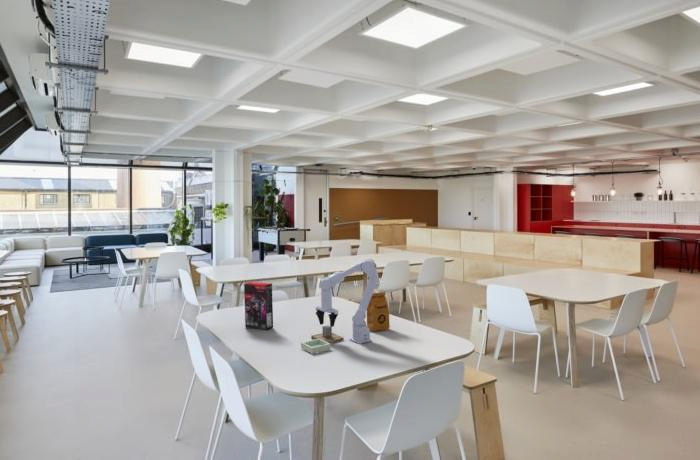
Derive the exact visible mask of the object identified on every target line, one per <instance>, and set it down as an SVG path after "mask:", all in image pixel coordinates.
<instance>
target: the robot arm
mask: <svg viewBox="0 0 700 460" xmlns="http://www.w3.org/2000/svg"><path fill="white" fill-rule="evenodd" d="M356 272H360V273H361V272H364V273H365V274H366V276H367V278H368V282H367V284H366V287H365V290H364V292H363V295H362V297H361V300H360V303H359V304H358V308H357V309H356V310H355V312H354V314H353V316H352V318H351V319H352V337H351V338H349V340H350V341H352V342H354V343H356V342H357V343H356V344H359V345H360V344H365V343H368V342H371V341H372V340H371V335H370V334H371V330H370V329H369V327H367V321H366V320H365V319H366V318H367V307H368V304H369V302H370V299H371V297H372V294H373V293H375V289H376V286H377V283H378V280H379V278H380V276H379V272H378V268H377V264H376V262H375V261H374V260H373V259H372V258H367V259H365V260H362V261H359V262H357V263H355V264H354V265H352V266H350V267H348V268H347V269H345V270H343V271H340V270H339V271H334V272H333V273H332V274H331V275H327V276H326V277H325V278H323V279H322V280H320V283H319V287H320V289H321V290H320V299H321V300H320V305H321V306H315V311H316V312H315V315H316V316H317V318H318V319H317V320H318V322H319V325H320V326H321V325H324V323H325V320H324V319H325V313H329V314H328V318H329V326H331V327H332V328H333V327H335V322H336V320H337V318H338V315H339V310H338V309H335V308H333V301H332V299H333V297H332V295H333V294H332V293H333V292H332V287H335V286H336V285H338V284H339V283H342V282H344V281H345V278H346V277H348V276H350V275H352V274H353V273H356Z"/></svg>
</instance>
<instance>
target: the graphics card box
mask: <svg viewBox="0 0 700 460" xmlns="http://www.w3.org/2000/svg"><path fill="white" fill-rule="evenodd" d="M243 287H244V288H243V289H244V290H243V292H244V320H245V321H244V322H245V323H244V324H245V325H244V328H248V329H249V328H250V329H254V330H255V329H256V330H263V331H268V330H270V329H273V328H274V313H273V312H274V311H273V310H274V309H273V307H274V306H273V283H272V282H271V283H268V282H258V281H247V282H244V283H243Z"/></svg>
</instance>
